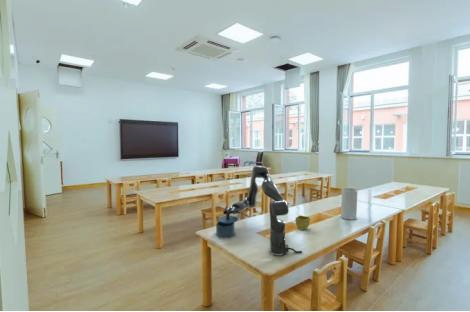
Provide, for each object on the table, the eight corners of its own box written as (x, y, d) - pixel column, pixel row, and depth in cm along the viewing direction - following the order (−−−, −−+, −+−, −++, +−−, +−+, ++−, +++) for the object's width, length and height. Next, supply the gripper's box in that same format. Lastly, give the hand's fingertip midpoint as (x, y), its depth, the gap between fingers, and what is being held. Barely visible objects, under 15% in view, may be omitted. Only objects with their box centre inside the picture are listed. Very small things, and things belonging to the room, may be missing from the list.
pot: (235, 231, 193) (235, 220, 192) (232, 238, 180) (232, 227, 179) (218, 230, 195) (218, 219, 194) (214, 237, 182) (214, 226, 181)
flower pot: (299, 225, 203) (300, 215, 203) (310, 228, 198) (310, 217, 197) (295, 229, 197) (295, 218, 196) (305, 231, 191) (305, 220, 190)
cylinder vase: (359, 219, 216) (360, 191, 214) (345, 220, 215) (346, 191, 213) (351, 214, 229) (352, 187, 226) (338, 215, 228) (339, 188, 225)
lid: (239, 217, 190) (239, 207, 189) (236, 224, 176) (236, 213, 175) (220, 216, 193) (220, 206, 192) (216, 223, 178) (215, 212, 178)
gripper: (231, 200, 199) (217, 206, 185) (246, 203, 191) (233, 209, 177) (231, 210, 200) (217, 216, 186) (246, 213, 192) (233, 220, 178)
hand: (225, 213), depth 181 cm, fingers closed on lid, 2 cm apart
